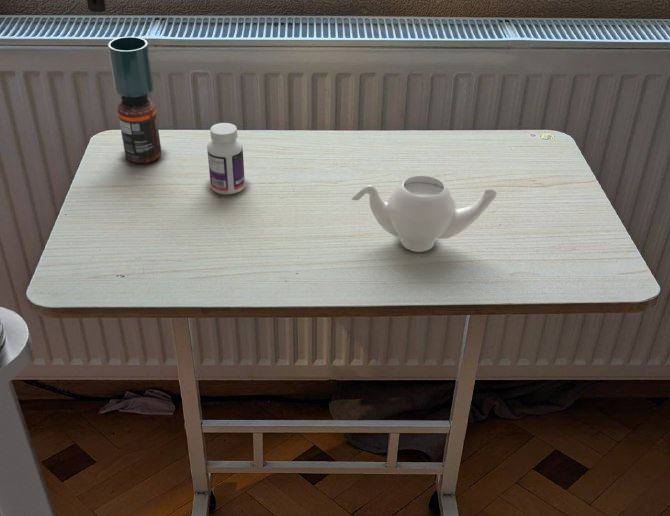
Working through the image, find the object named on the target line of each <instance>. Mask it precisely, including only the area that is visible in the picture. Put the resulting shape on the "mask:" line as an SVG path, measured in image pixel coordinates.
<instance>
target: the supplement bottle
mask: <svg viewBox="0 0 670 516" xmlns="http://www.w3.org/2000/svg"><path fill="white" fill-rule="evenodd" d="M120 96H121V95H120ZM117 115H118V121H119V126H120V127H119V128H120V132H121V138H122V145H123V149H124V155H125V157H126V159H127V160H128V161H129V162H132V163H134V164H149V163H152V162H154V161H157V160H158V159H159V158H160V157H161V155H162V145H161V139H160V138H161V137H160V132H159V124H158V118H157V117H158V116H157V111H156V105H155V103H154V102H153V101H152V100H151V99H150V98H148V94H147V95H144V96H140V97H125V96H121V101H120V102H119V103H118V105H117Z"/></svg>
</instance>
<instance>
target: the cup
mask: <svg viewBox="0 0 670 516" xmlns="http://www.w3.org/2000/svg"><path fill="white" fill-rule="evenodd" d="M107 48H108V49H107V50H108V53H109V54H108V55H109V60H110V66H111V72H112V77H113V78H112V79H113V85H114V89H115V90H114V91H115V92H116V94H118V95H119V96H125V97H140V96H144V95H147V96H148V95H149V94H151V93H152V92H153V91H154V79H153V72H152V71H153V70H152V63H151V56H150V49H149V42H148V41H147V39H145V38H142V37H138V36H122V37H121V36H120V37H116V38H114V39H112V40H110V41H108V43H107Z"/></svg>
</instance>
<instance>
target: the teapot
mask: <svg viewBox="0 0 670 516" xmlns="http://www.w3.org/2000/svg"><path fill="white" fill-rule="evenodd" d="M365 195H368V199H369V207H370V210H371V213H372V214H373V216H374V218H375V220H376V221H377V223H378V224H379V226H380V227H381V228H382V229H383V230H384V231H385V232H387V233H388V234H390V235H392V236H394V237H395V238H399V239H401V245H402V246H403V247H404V248H405V249H407V250H409V251H412V252H417V253H421V252H426V251H429V250H432V248H433V247H434V245H435V241H436V240H447V239H451V238H454V237H455V236H457V235H459V234H461V233H462V232H464V231H465V230H467V229H468V228H469V227H470V226H471V225H472V224H473V223H474V222H476V220H478V219H479V217H481V215H482V214H483V213H484V212H485V211H486V209H487V208H488V207H489V206H490V205H491V204H492V203H493V201H494V200H495V198H496V197H497V191H496V190H494V189H490V188H489V189H485V190H484V191H483V193H482V194H481V196H480V197H479V199H478V200H476V201H475V202H473V203H472V204H470V205H467V206H465V207H461V208H457V205H456V201H455V199H454V197H453V195H452V192H451V191H450V189H449V187H448V186H447V185H446V184H445V183H444V181H442V180H441V179H439V178H436V177H433V176H429V175H414V176H409V177H407V178H405V179H404V180H402V181H401V182H400V183H399V184H398V185H397V186H396V187H395V188H394V190H393V191H392V192H391V193H390V195H389V197H388V200H387V201H385V200H383V198H382V197H381V195H380V193H379V191H378V190H377V188H376V186H373V185H372V184H368V185H366V186H364V187H363V188H361V189H360V190H359V191H358V192H357V193H355V194H354V195H353V196H352V197H351V198H350V199H351V200H352V201H359V200H361V199H362V198H363V196H365Z"/></svg>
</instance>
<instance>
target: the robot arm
mask: <svg viewBox="0 0 670 516" xmlns="http://www.w3.org/2000/svg"><path fill="white" fill-rule="evenodd" d="M86 2H87V9H88V10H89V11H90V12H91V13H92V12H94V13H104V12H105V11H106V10H107V0H86ZM4 340H5V331H4V328H3V325H2V323H1V320H0V347H1V346H2V344H3V342H4Z"/></svg>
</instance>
